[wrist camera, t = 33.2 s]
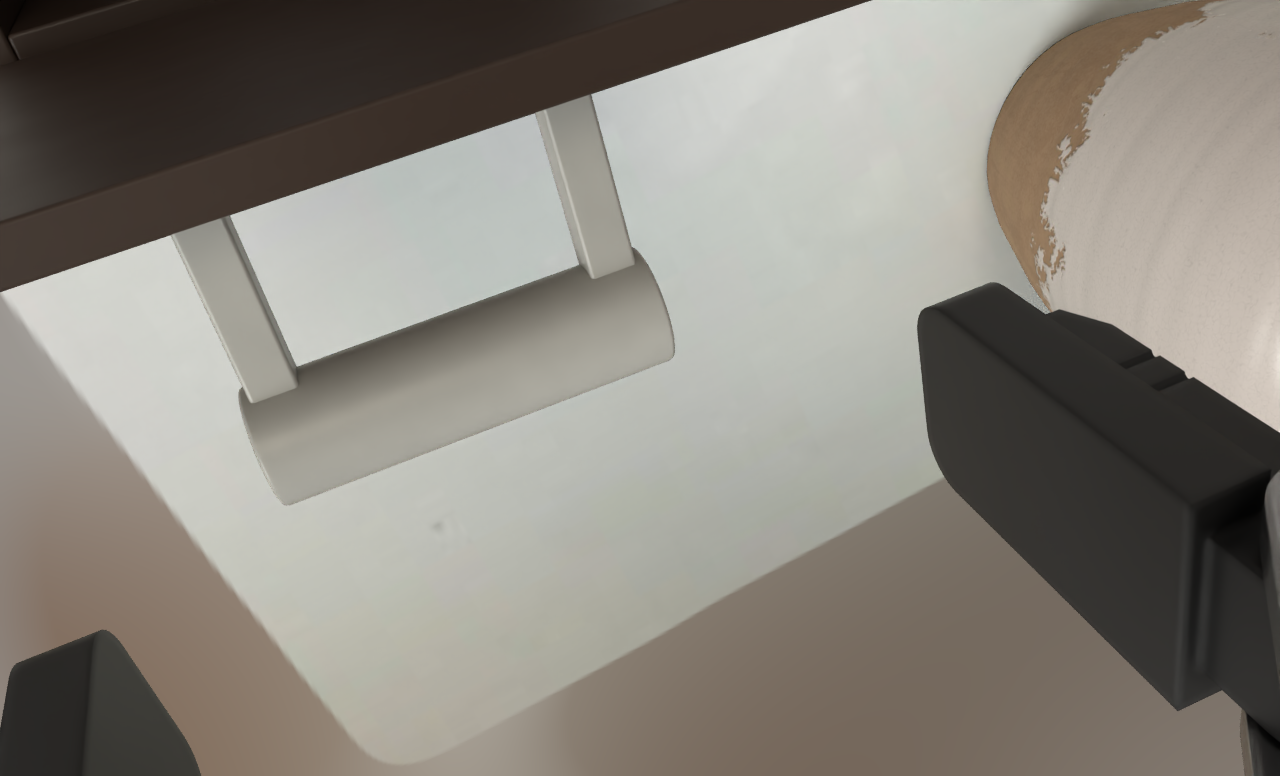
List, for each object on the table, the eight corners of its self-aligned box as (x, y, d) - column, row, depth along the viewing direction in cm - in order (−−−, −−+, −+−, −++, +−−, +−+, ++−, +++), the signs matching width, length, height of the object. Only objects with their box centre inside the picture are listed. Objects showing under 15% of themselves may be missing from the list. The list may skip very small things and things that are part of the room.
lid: (-291, 316, 11) (-8, 714, 14) (925, -79, 14) (971, 326, 16) (-25, 73, 24) (98, 308, 26) (589, -113, 26) (646, 120, 29)
